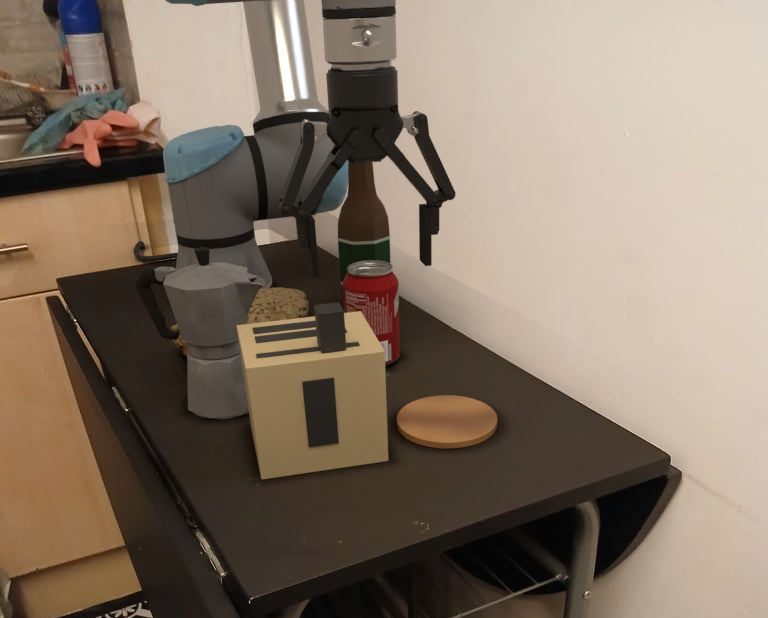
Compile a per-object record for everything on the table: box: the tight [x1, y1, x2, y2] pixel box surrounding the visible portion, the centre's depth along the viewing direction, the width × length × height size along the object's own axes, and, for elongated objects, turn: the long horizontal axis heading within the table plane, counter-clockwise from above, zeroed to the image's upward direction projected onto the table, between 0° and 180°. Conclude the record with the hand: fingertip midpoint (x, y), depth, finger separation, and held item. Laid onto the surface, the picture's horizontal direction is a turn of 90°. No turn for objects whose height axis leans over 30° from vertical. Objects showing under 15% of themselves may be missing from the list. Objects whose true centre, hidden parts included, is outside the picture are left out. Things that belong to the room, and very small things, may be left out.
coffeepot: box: [134, 247, 265, 420], centre depth 88 cm, size 15×9×18 cm, turn 74°
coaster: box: [396, 394, 498, 450], centre depth 87 cm, size 11×11×1 cm
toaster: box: [237, 311, 389, 481], centre depth 81 cm, size 11×13×12 cm
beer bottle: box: [337, 161, 391, 313], centre depth 110 cm, size 8×8×24 cm
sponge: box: [170, 286, 310, 358], centre depth 105 cm, size 13×8×20 cm
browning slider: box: [313, 301, 346, 353], centre depth 74 cm, size 2×2×4 cm
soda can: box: [343, 260, 401, 367], centre depth 98 cm, size 7×7×12 cm
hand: (370, 268), depth 95 cm, fingers open, 13 cm apart
